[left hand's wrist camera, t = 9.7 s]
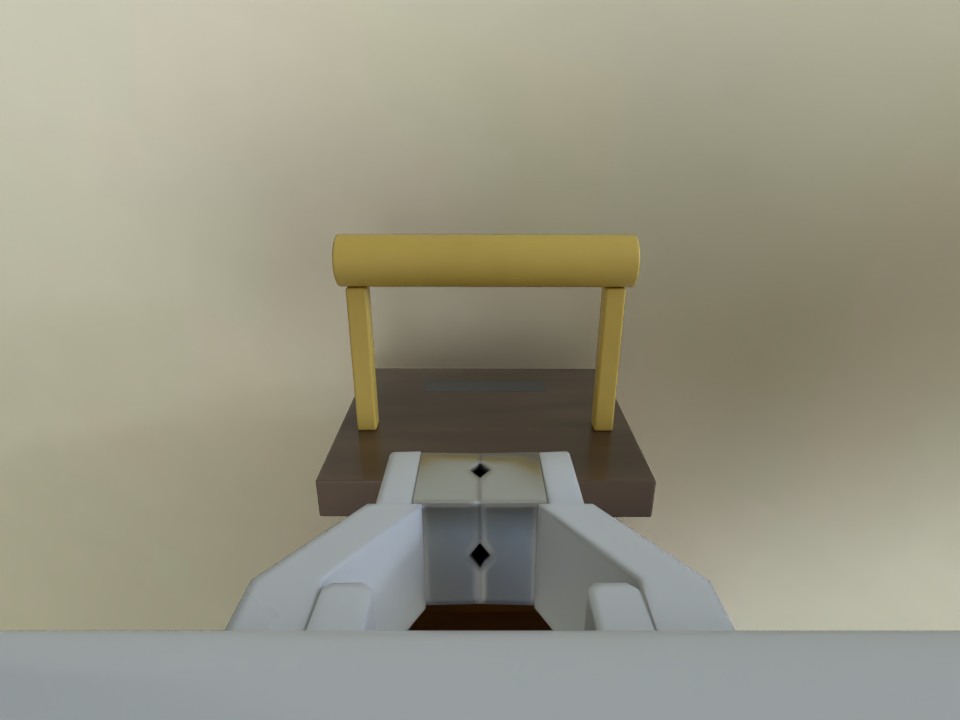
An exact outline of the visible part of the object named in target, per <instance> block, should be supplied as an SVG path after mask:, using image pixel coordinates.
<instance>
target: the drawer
mask: <svg viewBox="0 0 960 720" xmlns="http://www.w3.org/2000/svg"><path fill="white" fill-rule="evenodd" d="M332 263H333V272H334V277H335V280H336V282H337V284H338V285H339V286H348V287H347V288H346V298H347V309H348V321H349V332H350V344H351V355H352V367H353V378H354V390H355V397H354V399H353V401H352V403H351V406H350V408H349V410H348V412H347V414H346V416H345V419H344V421H343V423H342V425H341V427H340V429H339V432H338V434H337V436H336V438H335V440H334V443H333V445H332V447H331V449H330V451H329V453H328V456H327V458H326V460H325V462H324V464H323V466H322V469H321V471H320V473H319V475H318V477H317V479H316V487H317V495H318V504H319V512H320V516H350V515H351V514H353V513H354V512H356V511H357V510H359V509H360V508H362V507H363V506H365V505H366V504H376V501H377V498H378V494H379V491H380V487H381V484H382V481H383V477H384V474H385V470H386V467H387V463H388V460H389V456H390V454H391V453H393V452H413V451H420V452H421V453H423V452H451V453H513V452H560V451H567V452H568V453H569V454H570V457H571V460H572V464H573V467H574V471H575V474H576V477H577V481H578V484H579V488H580V491H581V494H582V498H583V501H584V504H594V505H595V506H597V507H598V508H600V509H601V510H603V511H604V512H606V513H607V514H609V515H610V516H612V517H651V515H652V507H653V500H654V492H655V485H656V481H655V479H654V477H653V475H652V473H651V471H650V469H649V466H648V464H647V462H646V460H645V458H644V456H643V454H642V452H641V450H640V448H639V446H638V444H637V442H636V440H635V438H634V436H633V433H632V431H631V429H630V427H629V425H628V423H627V421H626V419H625V417H624V415H623V413H622V411H621V409H620V407H619V405H618V402H617V400H616V388H617V378H618V368H619V357H620V347H621V337H622V327H623V316H624V306H625V296H626V289H625V288H624V287H632V286H634V285H635V283H636V281H637V278H638V274H639V268H640V246H639V242H638V238H637V237H636V236H635V235H503V234H338V235H336V237H335V239H334V243H333V250H332ZM369 286H373V287H602V296H601V308H600V321H599V333H598V345H597V357H596V369H375V358H374V344H373V330H372V316H371V302H370V288H369ZM407 631H553V630H552V629H551V628H550V626H549V625H548V624H547V623H546V621H545V620H544V619H543V618H542V616H541V615H540V614H539V613H538V612H537V610H536V609H535V608H534V605H508V604H451V605H426V608H425V610H424V611H423V612H422V613H421V615H420V616H419V617H418V618H417V619H416V621H415V622H414V623H413V624H412V626H411V627H410V628H409V629H408V630H407Z"/></svg>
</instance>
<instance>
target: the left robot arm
mask: <svg viewBox="0 0 960 720" xmlns="http://www.w3.org/2000/svg"><path fill="white" fill-rule="evenodd" d="M451 604H508V605H534V608H535V609H536V610H537V612H538V613H539V614H540V615H541V616H542V618H543V619H544V620H545V621H546V623H547V624H548V625H549V626H550V628H551V629H552V630H553V631H407V630H408V629H409V628H410V627H411V626H412V624H413V623H414V622H415V621H416V619H417V618H418V617H419V616H420V615H421V613H422V612H423V611H424V610H425V608H426V605H451ZM0 720H960V631H735V629H734V627H733V625H732V623H731V621H730V619H729V617H728V615H727V613H726V612H725V610H724V608H723V606H722V604H721V602H720V600H719V598H718V596H717V594H716V592H715V590H714V589H713V587H712V585H711V583H710V581H709V580H707V579H706V578H704V577H703V576H701V575H700V574H698V573H697V572H695V571H694V570H692V569H691V568H689V567H687V566H686V565H684V564H683V563H681V562H680V561H678V560H677V559H675V558H674V557H672V556H671V555H669V554H668V553H666V552H665V551H663V550H662V549H660V548H659V547H657V546H656V545H654V544H653V543H651V542H650V541H648V540H647V539H645V538H644V537H642V536H641V535H639V534H638V533H636V532H635V531H633V530H631V529H630V528H628V527H627V526H625V525H624V524H622V523H621V522H619V521H618V520H616V519H615V518H613V517H612V516H610V515H609V514H607V513H606V512H604V511H603V510H601V509H600V508H598V507H597V506H595V505H594V504H584V501H583V498H582V494H581V491H580V488H579V484H578V481H577V477H576V474H575V471H574V467H573V464H572V460H571V457H570V454H569V453H568V452H567V451H560V452H513V453H451V452H423V453H421V452H420V451H413V452H393V453H391V454H390V456H389V460H388V463H387V467H386V470H385V474H384V477H383V481H382V484H381V487H380V491H379V494H378V498H377V501H376V504H366V505H365V506H363V507H362V508H360V509H359V510H357V511H356V512H354V513H353V514H351V515H350V516H348V517H347V518H345V519H344V520H342V521H341V522H339V523H337V524H336V525H334V526H333V527H331V528H330V529H328V530H327V531H325V532H324V533H322V534H321V535H319V536H318V537H316V538H315V539H313V540H312V541H310V542H309V543H307V544H306V545H304V546H302V547H301V548H299V549H298V550H296V551H295V552H293V553H292V554H290V555H289V556H287V557H286V558H284V559H283V560H281V561H280V562H278V563H277V564H275V565H274V566H272V567H271V568H269V569H268V570H266V571H264V572H263V573H261V574H260V575H258V576H257V577H255V578H254V579H252V580H251V582H250V583H249V585H248V587H247V589H246V591H245V593H244V595H243V597H242V599H241V600H240V602H239V604H238V606H237V608H236V610H235V612H234V614H233V616H232V617H231V619H230V621H229V623H228V625H227V627H226V629H225V631H202V630H42V631H0Z"/></svg>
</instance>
